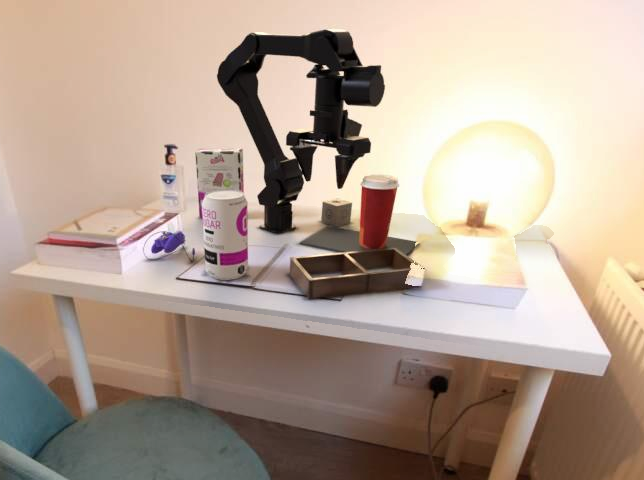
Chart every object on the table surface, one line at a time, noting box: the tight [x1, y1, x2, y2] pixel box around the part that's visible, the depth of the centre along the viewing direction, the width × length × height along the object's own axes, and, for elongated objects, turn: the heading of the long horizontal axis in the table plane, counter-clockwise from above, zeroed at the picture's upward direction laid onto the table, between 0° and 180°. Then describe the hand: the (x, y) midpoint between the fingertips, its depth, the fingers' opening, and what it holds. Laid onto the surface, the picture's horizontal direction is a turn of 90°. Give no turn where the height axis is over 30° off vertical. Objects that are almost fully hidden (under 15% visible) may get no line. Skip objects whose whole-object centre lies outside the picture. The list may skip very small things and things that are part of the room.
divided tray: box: [289, 248, 426, 300], centre depth 90 cm, size 11×21×4 cm, turn 102°
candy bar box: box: [195, 148, 245, 219], centre depth 124 cm, size 11×5×16 cm, turn 80°
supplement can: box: [202, 190, 249, 281], centre depth 92 cm, size 8×8×15 cm
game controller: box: [142, 230, 196, 263], centre depth 101 cm, size 10×8×10 cm
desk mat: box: [299, 225, 417, 256], centre depth 108 cm, size 22×14×1 cm, turn 55°
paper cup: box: [359, 174, 400, 249], centre depth 103 cm, size 8×8×14 cm
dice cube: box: [320, 197, 353, 227], centre depth 121 cm, size 5×5×5 cm
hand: (323, 184), depth 106 cm, fingers open, 9 cm apart
